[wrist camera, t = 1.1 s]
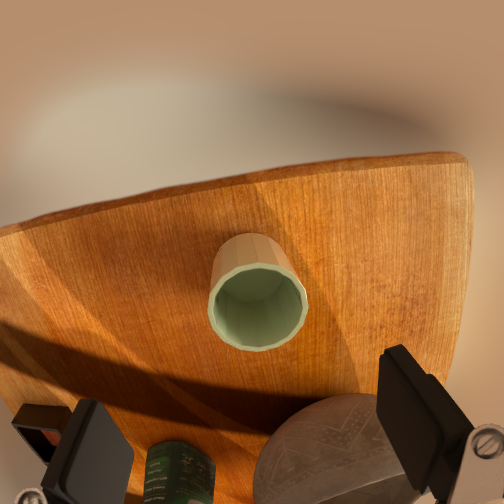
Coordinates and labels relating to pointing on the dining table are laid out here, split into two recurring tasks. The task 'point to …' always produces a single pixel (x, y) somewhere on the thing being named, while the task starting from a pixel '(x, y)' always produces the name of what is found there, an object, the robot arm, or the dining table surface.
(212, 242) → the dining table surface
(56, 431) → the black divided tray
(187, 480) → the coffee jar
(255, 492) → the bowl
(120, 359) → the dining table surface
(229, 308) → the sage cup
